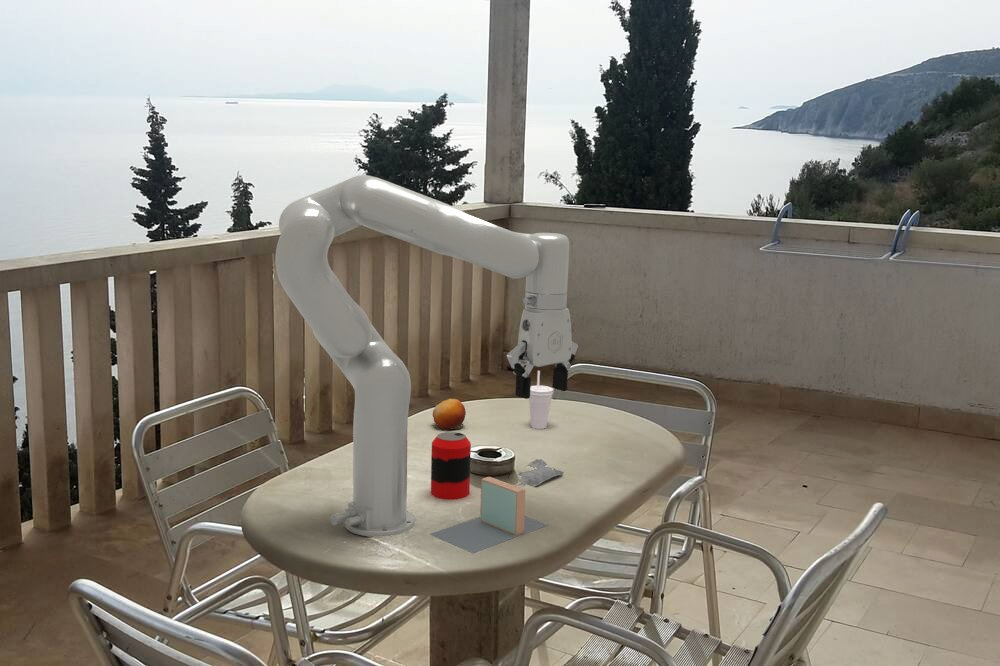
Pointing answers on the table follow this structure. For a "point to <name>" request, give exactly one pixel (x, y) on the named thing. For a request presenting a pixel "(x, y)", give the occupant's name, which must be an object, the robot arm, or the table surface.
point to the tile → (502, 505)
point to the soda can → (450, 466)
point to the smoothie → (539, 404)
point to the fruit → (449, 414)
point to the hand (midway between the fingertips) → (541, 393)
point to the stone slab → (537, 474)
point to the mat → (481, 534)
